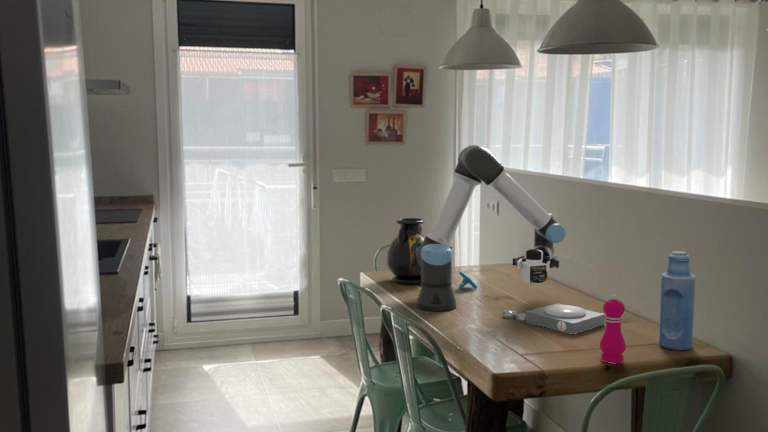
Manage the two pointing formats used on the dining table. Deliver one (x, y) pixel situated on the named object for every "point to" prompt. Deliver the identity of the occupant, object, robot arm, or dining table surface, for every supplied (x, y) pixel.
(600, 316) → the scale
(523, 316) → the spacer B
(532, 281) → the medicine bottle
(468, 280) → the gear
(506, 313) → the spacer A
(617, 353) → the pepper mill
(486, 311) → the dining table surface
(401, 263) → the amphora vase
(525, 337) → the dining table surface
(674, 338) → the bottle
